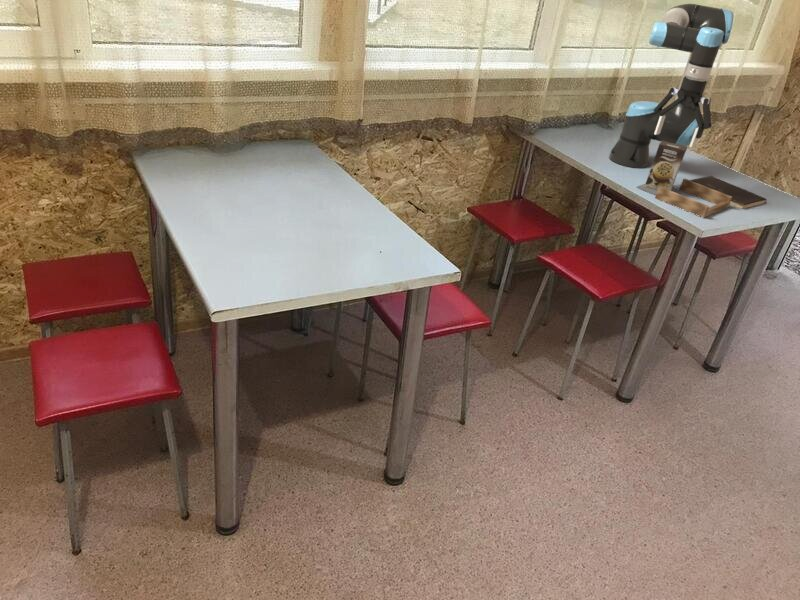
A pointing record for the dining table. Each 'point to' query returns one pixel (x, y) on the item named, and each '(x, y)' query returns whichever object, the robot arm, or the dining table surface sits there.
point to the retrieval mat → (652, 189)
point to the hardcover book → (731, 192)
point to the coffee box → (665, 165)
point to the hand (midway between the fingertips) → (674, 140)
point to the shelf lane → (692, 205)
